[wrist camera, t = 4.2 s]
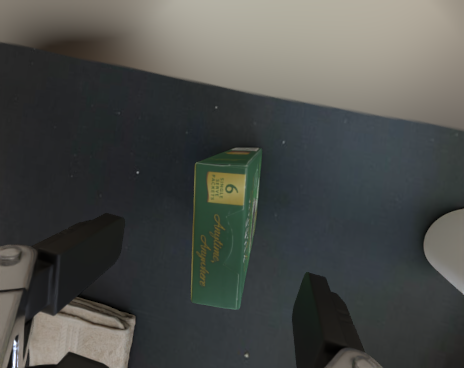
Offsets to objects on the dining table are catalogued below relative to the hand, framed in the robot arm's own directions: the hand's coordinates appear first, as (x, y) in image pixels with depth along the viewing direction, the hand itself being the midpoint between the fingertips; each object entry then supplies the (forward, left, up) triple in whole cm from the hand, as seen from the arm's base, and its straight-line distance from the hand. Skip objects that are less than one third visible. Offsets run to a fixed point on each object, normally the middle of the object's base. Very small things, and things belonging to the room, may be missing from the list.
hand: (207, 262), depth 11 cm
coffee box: (0, 0, -15) cm, 15 cm away
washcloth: (+14, +27, -15) cm, 34 cm away
